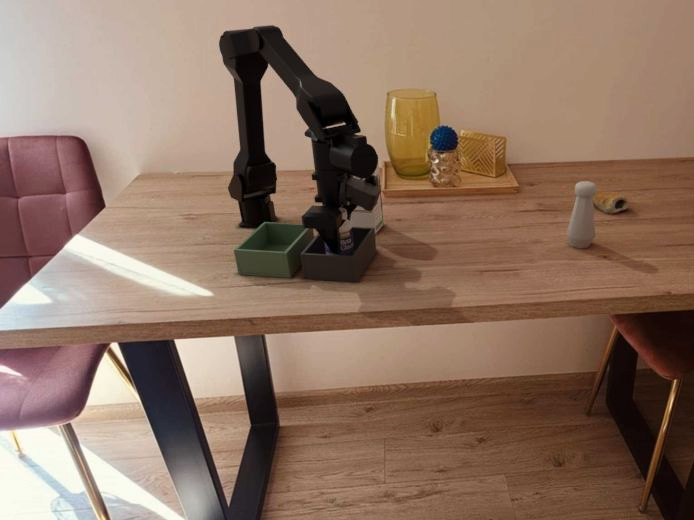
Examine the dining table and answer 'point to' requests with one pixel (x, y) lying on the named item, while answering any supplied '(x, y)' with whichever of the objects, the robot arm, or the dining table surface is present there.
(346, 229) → the pill bottle
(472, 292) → the dining table surface
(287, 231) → the green bin
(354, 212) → the syrup box
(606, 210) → the pastry
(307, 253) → the charcoal crate
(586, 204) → the salt shaker
